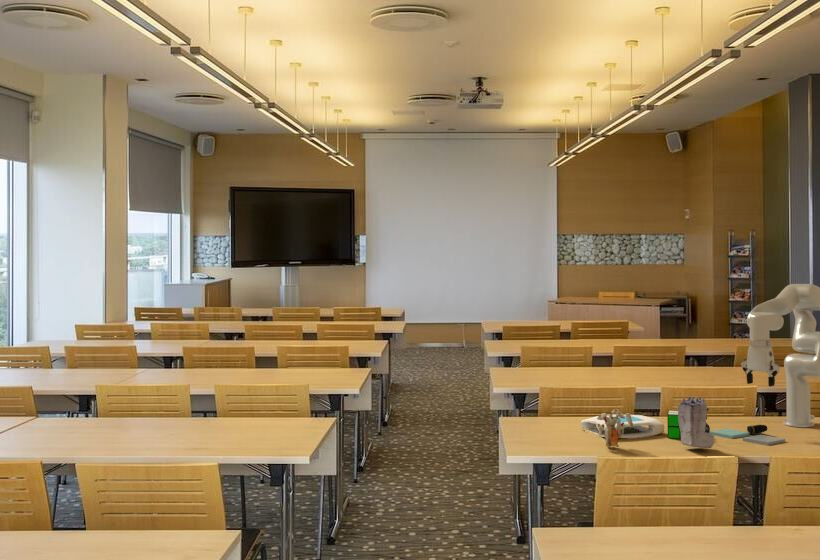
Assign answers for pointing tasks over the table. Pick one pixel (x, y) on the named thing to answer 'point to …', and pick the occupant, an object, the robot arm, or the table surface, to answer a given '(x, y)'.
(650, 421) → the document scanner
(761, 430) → the tape measure
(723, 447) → the table surface
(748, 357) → the robot arm
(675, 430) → the puzzle cube
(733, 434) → the teal board
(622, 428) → the voxel character
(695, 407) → the cell model
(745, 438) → the slate board
